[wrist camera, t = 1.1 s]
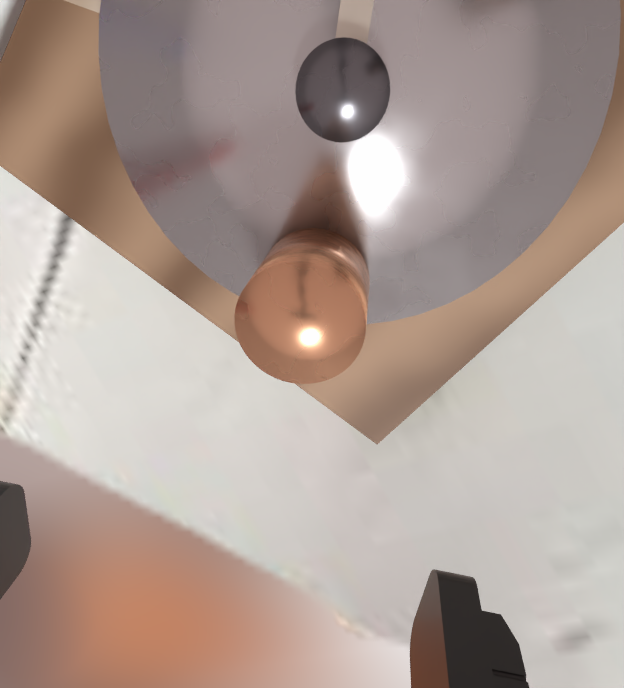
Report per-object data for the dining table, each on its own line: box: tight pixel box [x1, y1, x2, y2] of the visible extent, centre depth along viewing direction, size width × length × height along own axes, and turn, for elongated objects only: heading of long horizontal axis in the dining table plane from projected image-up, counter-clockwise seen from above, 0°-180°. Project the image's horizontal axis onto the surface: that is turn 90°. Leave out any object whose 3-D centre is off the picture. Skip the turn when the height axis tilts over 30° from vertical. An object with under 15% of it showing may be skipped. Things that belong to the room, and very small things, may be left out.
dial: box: [98, 0, 621, 384], centre depth 20 cm, size 20×20×6 cm
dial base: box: [0, 0, 624, 444], centre depth 24 cm, size 26×26×2 cm
